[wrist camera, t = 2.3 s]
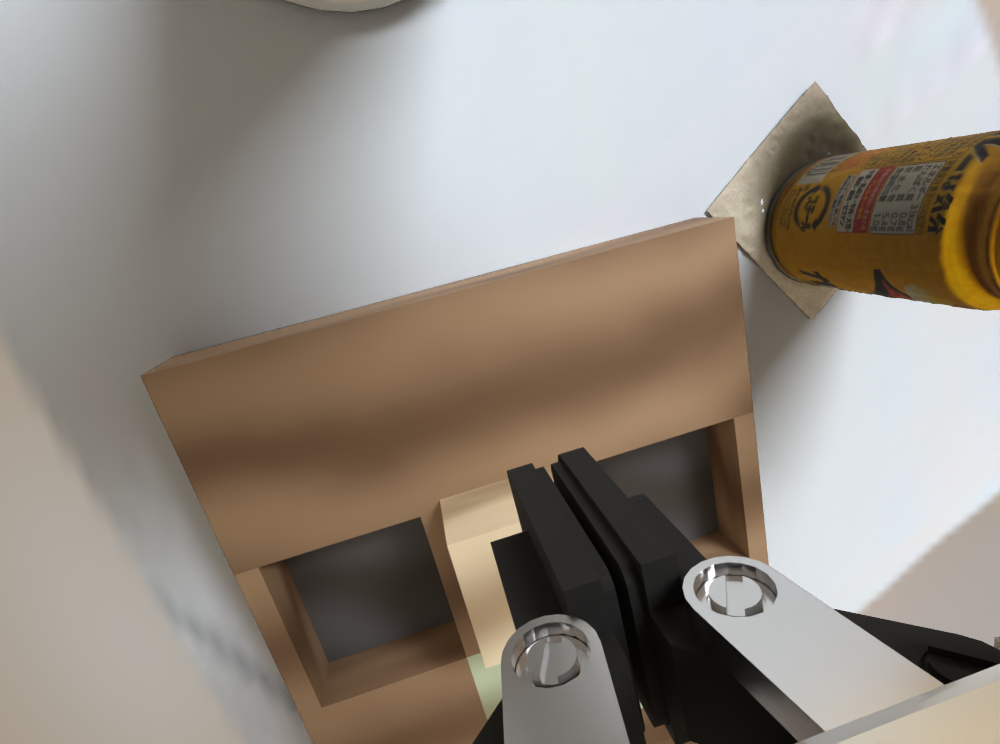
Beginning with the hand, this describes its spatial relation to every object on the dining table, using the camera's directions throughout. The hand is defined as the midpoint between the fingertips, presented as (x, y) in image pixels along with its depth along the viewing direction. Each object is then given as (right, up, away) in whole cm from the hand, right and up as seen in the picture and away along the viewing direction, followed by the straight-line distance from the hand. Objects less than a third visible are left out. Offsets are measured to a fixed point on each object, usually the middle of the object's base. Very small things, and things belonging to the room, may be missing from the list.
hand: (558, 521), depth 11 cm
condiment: (+14, +11, +15) cm, 23 cm away
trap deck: (-1, -5, +16) cm, 17 cm away
